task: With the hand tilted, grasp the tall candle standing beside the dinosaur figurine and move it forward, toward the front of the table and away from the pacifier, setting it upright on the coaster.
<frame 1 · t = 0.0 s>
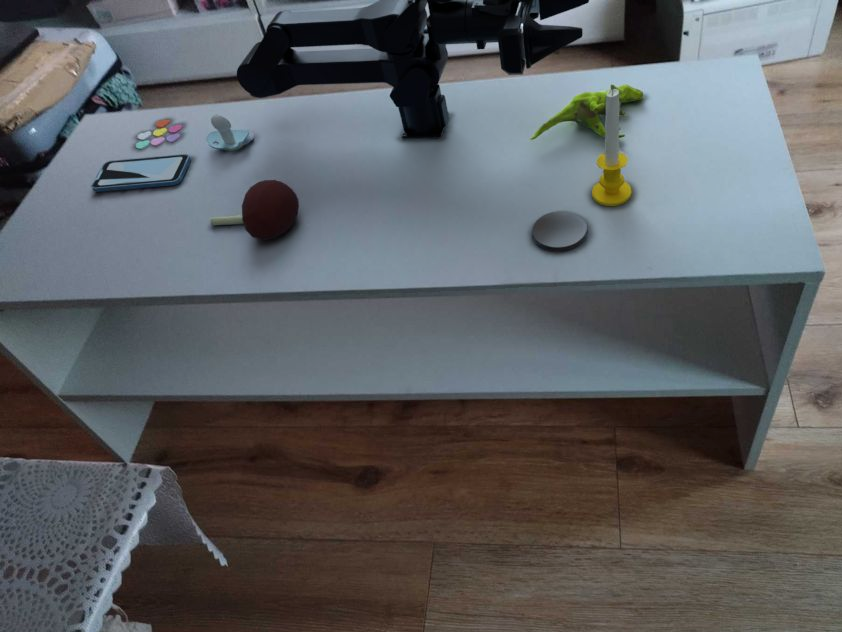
hand: (585, 14, 92), 17 cm above the table, tool horizontal, fingers open, 9 cm apart
candle: (611, 195, 94), on the table
smartphone: (143, 176, 114), on the table
pacifier: (235, 144, 116), on the table
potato: (261, 216, 101), point 1 cm above the table
candy hearts: (160, 134, 122), on the table
dinosaur figurine: (588, 125, 105), on the table
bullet: (211, 221, 103), point 1 cm above the table
coaster: (559, 233, 91), on the table
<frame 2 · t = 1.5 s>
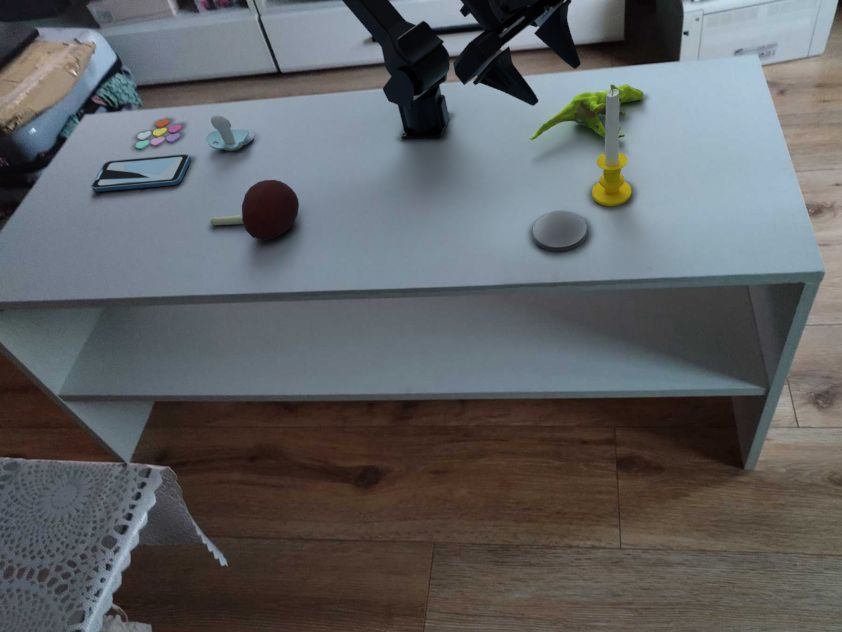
hand: (557, 84, 88), 14 cm above the table, tool tilted 45°, fingers open, 9 cm apart
nothing on the table moved.
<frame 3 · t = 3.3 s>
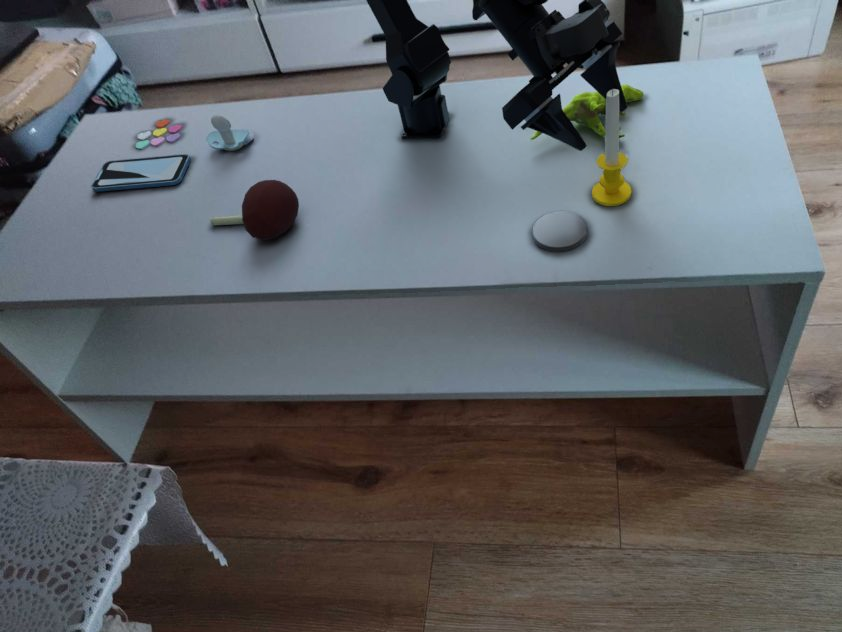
hand: (604, 129, 87), 10 cm above the table, tool tilted 45°, fingers open, 9 cm apart
nothing on the table moved.
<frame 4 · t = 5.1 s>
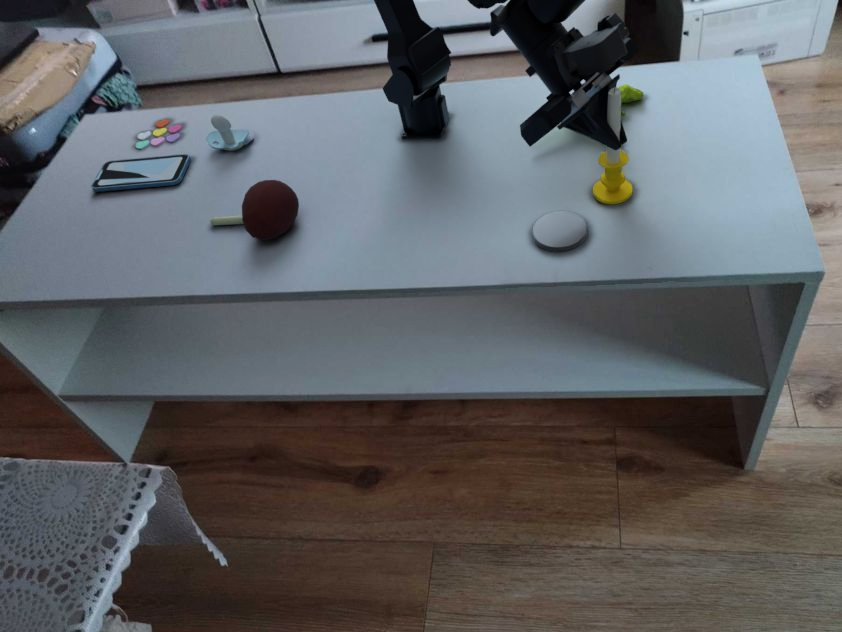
hand: (621, 145, 87), 8 cm above the table, tool tilted 45°, fingers closed on candle
candle: (612, 193, 95), on the table, touching gripper
everything else where it was.
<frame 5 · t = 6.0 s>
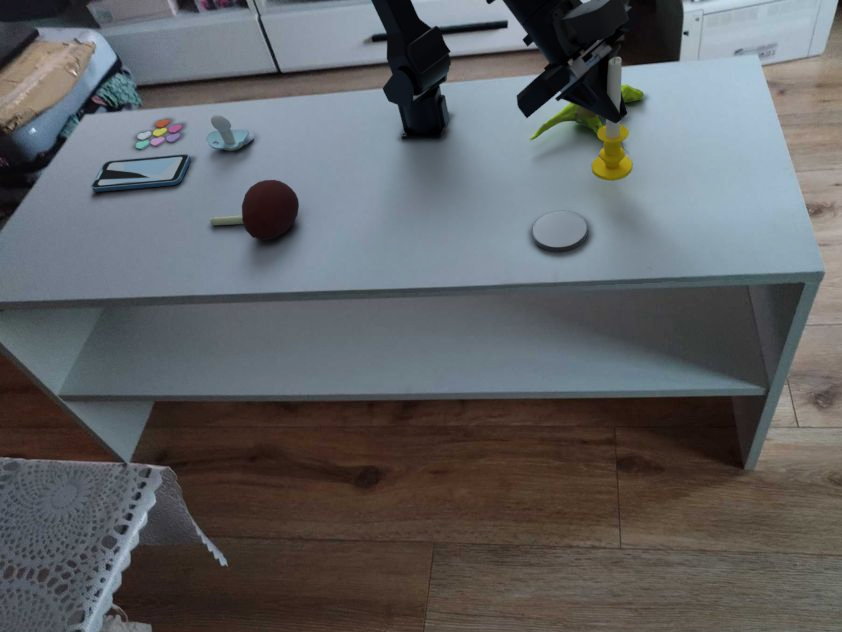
hand: (621, 118, 84), 12 cm above the table, tool tilted 45°, fingers closed on candle
candle: (611, 169, 92), point 4 cm above the table, touching gripper
everything else where it was.
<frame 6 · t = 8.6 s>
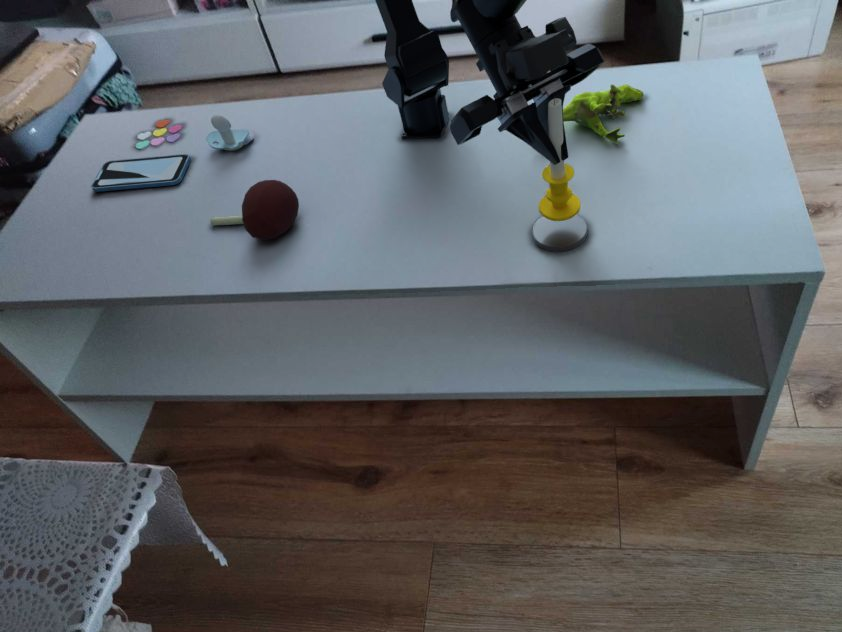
hand: (561, 161, 81), 12 cm above the table, tool tilted 45°, fingers closed on candle
candle: (559, 208, 88), point 4 cm above the table, touching gripper
everything else where it was.
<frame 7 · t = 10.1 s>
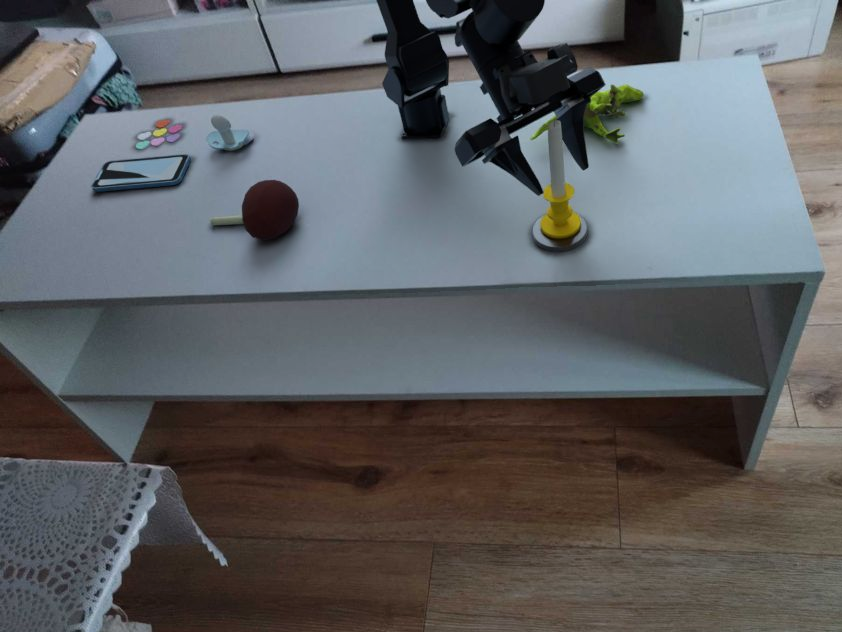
hand: (563, 181, 83), 9 cm above the table, tool tilted 45°, fingers open, 6 cm apart
candle: (560, 226, 91), point 1 cm above the table, touching coaster
everything else where it was.
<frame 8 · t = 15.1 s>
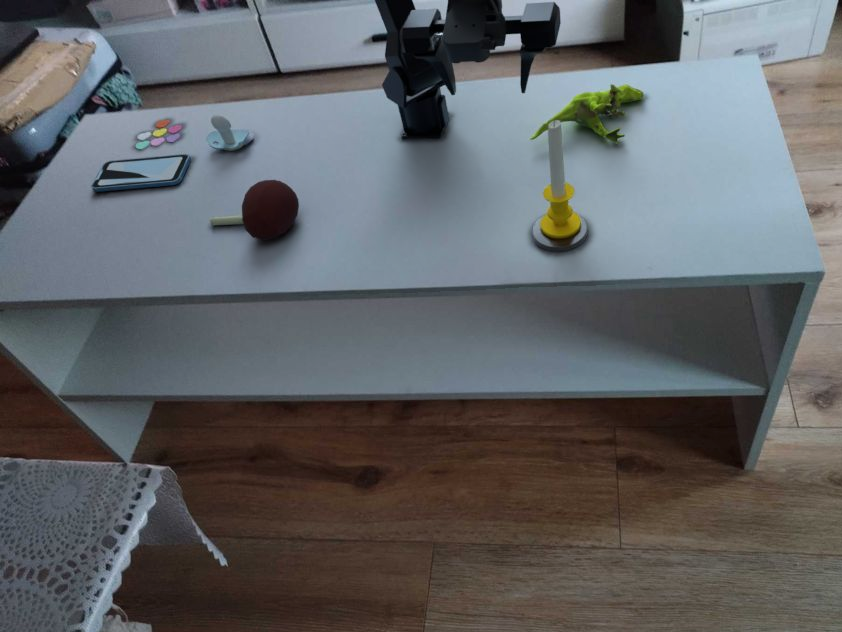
hand: (488, 92, 90), 13 cm above the table, tool pointing down, fingers open, 9 cm apart
nothing on the table moved.
at the end: candle 0.6 cm off-centre on the coaster, point 0.6 cm above the coaster's base; candle tilted 0° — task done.
